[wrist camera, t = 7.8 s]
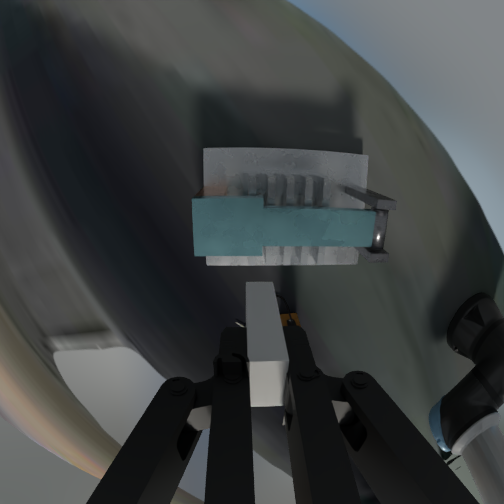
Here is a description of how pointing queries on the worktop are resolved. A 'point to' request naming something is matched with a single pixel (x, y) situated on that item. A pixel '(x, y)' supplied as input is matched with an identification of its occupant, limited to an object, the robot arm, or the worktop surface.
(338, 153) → the heatsink base
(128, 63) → the worktop surface
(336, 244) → the lever
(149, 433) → the robot arm
